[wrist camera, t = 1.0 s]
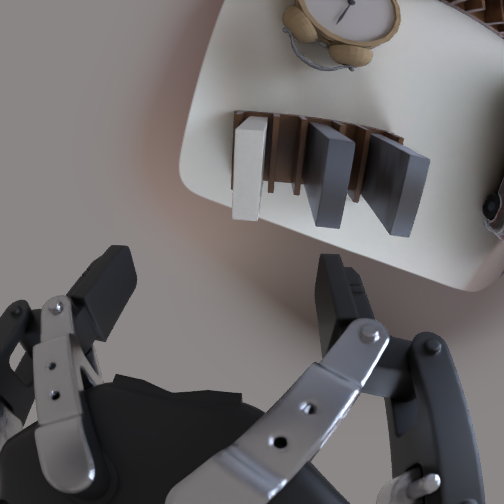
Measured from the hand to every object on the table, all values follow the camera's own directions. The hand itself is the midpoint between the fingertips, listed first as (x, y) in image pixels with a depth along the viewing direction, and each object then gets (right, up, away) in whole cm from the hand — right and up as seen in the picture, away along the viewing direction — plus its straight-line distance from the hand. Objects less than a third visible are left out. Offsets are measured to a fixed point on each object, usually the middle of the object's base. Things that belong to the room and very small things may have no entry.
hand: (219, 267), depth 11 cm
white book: (+2, +12, +19) cm, 23 cm away
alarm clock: (+11, +26, +11) cm, 30 cm away
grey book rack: (+8, +12, +19) cm, 24 cm away
